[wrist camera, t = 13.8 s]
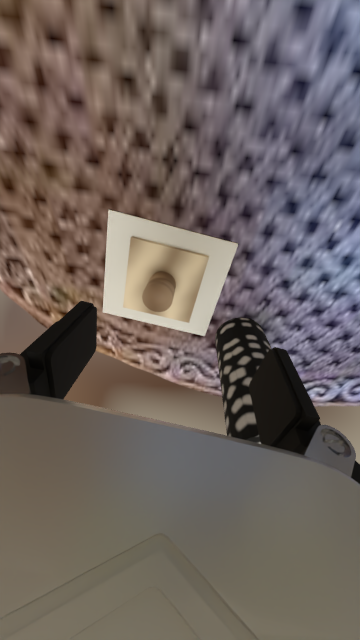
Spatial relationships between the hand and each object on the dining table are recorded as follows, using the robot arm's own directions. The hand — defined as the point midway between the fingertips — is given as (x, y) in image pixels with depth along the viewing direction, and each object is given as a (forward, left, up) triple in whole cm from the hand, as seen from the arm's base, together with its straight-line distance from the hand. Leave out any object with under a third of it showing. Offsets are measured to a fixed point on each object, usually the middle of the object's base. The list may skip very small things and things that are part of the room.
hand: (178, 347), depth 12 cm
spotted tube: (-12, +13, -23) cm, 29 cm away
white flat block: (+3, +6, -22) cm, 23 cm away
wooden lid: (+3, +6, -22) cm, 23 cm away
